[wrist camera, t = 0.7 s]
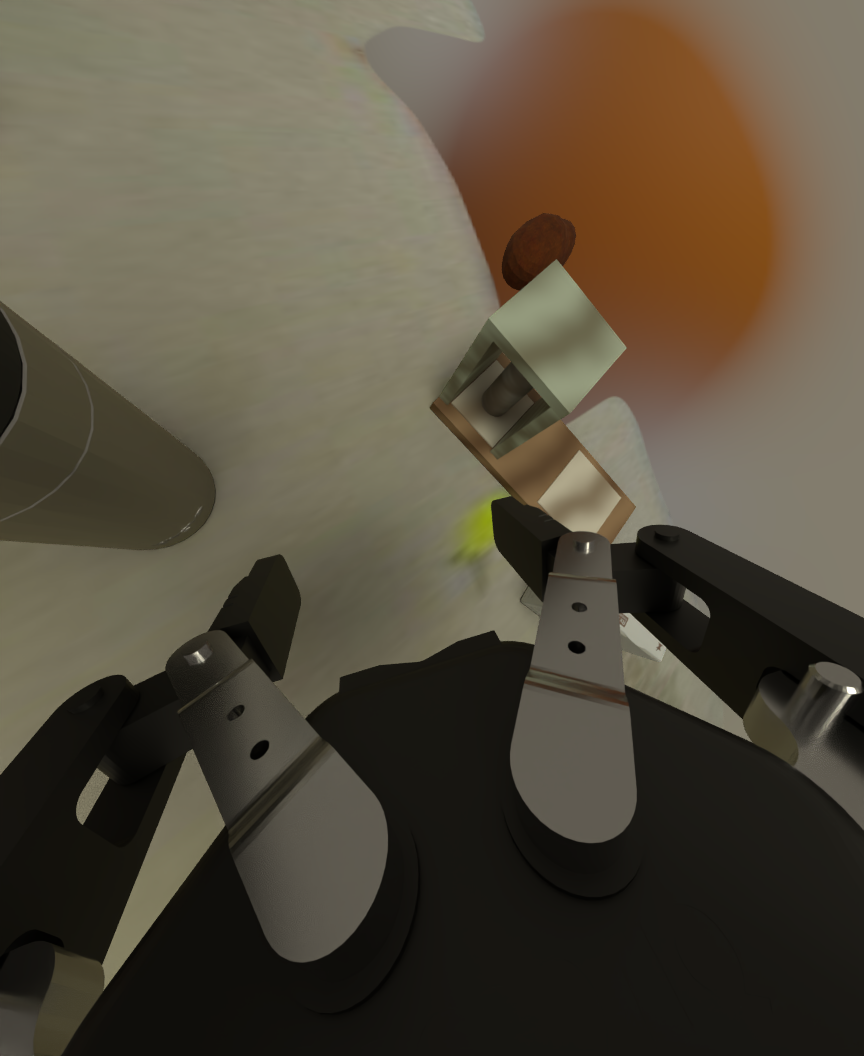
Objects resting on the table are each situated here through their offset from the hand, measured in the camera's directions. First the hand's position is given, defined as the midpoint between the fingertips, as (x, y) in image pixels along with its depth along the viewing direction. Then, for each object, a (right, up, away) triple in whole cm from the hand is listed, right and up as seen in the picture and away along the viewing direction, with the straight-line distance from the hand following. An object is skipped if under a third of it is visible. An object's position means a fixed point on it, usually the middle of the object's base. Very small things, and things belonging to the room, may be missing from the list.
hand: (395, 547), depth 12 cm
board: (+14, +8, +25) cm, 30 cm away
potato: (+13, +32, +27) cm, 44 cm away
